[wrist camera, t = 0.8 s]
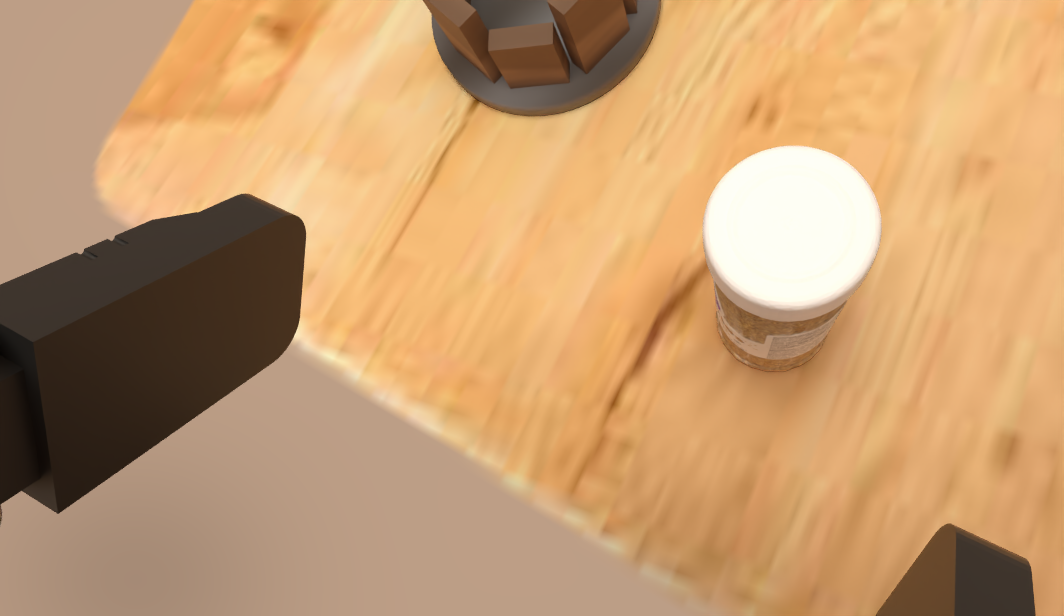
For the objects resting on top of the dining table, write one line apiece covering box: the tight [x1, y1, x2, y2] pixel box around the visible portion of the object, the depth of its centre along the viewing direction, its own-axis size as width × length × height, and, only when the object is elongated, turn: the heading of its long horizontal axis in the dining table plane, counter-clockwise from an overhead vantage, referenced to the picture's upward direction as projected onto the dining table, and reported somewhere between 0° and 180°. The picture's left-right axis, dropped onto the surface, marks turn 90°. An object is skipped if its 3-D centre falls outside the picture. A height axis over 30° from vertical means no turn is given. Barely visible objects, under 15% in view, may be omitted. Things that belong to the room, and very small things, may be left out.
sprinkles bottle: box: [703, 146, 881, 371], centre depth 28 cm, size 5×5×13 cm
